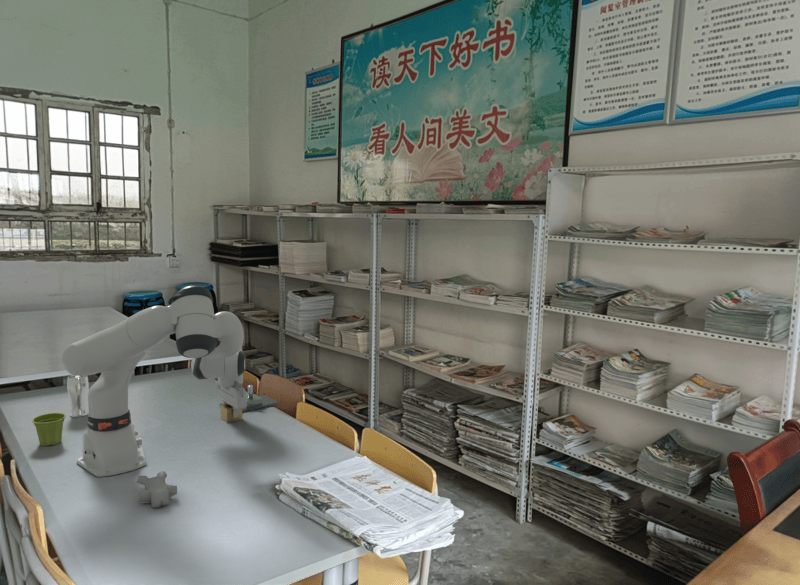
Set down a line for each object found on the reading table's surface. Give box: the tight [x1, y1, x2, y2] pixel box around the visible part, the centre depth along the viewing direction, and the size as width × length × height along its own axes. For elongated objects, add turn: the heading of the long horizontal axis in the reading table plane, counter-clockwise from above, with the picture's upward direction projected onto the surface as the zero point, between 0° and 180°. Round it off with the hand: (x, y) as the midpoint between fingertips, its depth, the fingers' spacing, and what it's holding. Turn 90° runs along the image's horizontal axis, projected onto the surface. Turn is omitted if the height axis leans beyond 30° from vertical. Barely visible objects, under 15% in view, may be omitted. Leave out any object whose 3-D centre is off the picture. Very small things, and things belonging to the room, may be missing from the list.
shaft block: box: [219, 384, 280, 413], centre depth 226 cm, size 12×20×8 cm, turn 130°
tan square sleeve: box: [219, 404, 243, 423], centre depth 211 cm, size 6×6×5 cm
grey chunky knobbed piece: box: [136, 470, 178, 509], centre depth 151 cm, size 10×5×15 cm
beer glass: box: [66, 374, 90, 418], centre depth 211 cm, size 7×7×15 cm
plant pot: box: [31, 412, 66, 447], centre depth 185 cm, size 9×9×9 cm
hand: (231, 414), depth 211 cm, fingers closed on tan square sleeve, 6 cm apart
